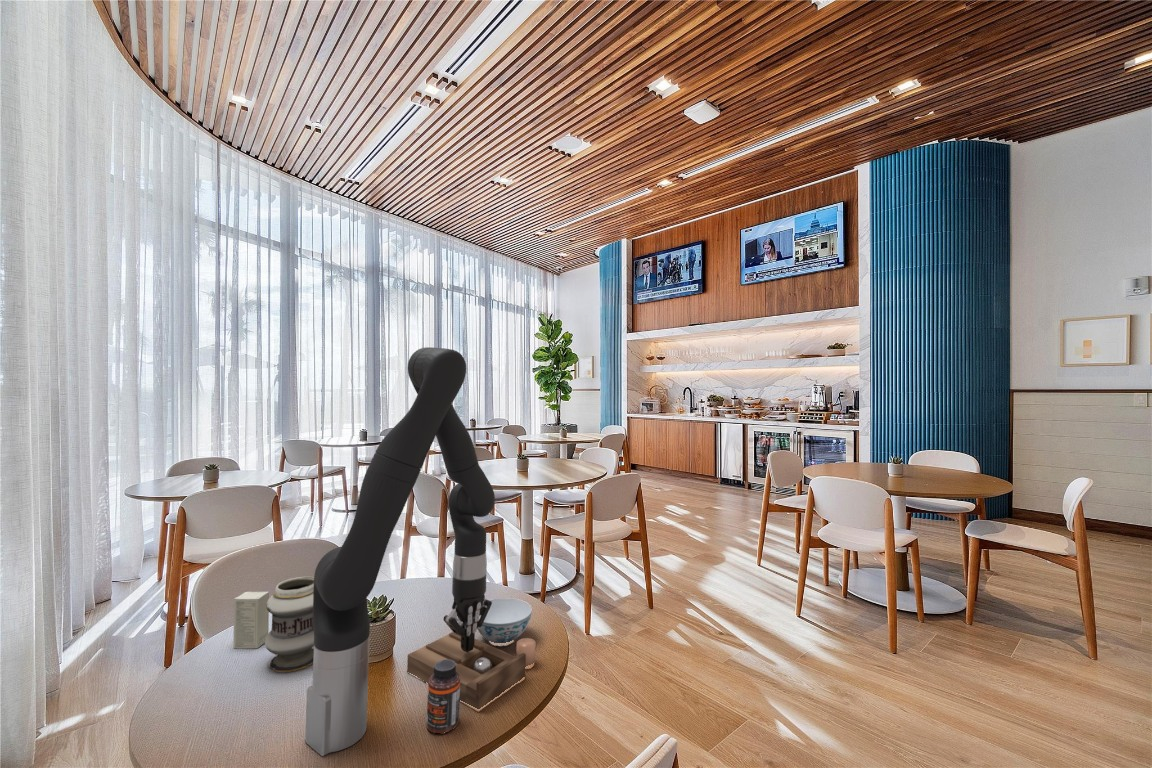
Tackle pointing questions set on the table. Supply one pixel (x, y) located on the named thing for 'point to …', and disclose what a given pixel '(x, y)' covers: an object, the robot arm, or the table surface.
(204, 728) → the table surface
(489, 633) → the chinaware
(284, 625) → the apothecary jar
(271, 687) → the table surface
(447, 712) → the supplement bottle
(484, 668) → the steel ball
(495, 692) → the wooden box
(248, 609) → the skincare box
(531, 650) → the beige rounded cylinder
